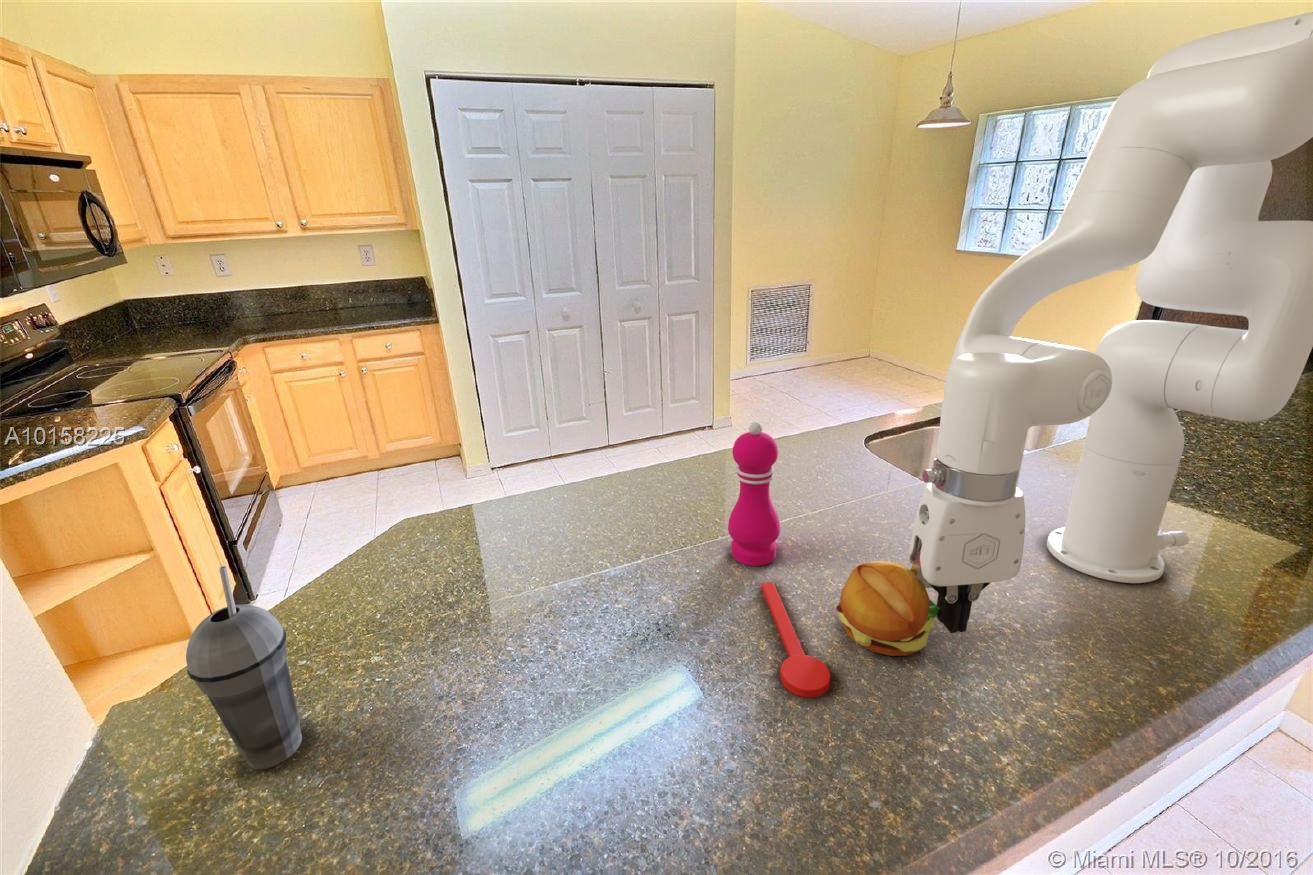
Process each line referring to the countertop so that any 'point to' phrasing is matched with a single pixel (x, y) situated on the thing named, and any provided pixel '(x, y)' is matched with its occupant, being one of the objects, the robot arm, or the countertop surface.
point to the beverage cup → (247, 679)
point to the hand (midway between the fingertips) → (950, 624)
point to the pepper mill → (754, 499)
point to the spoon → (796, 653)
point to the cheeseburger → (886, 609)
